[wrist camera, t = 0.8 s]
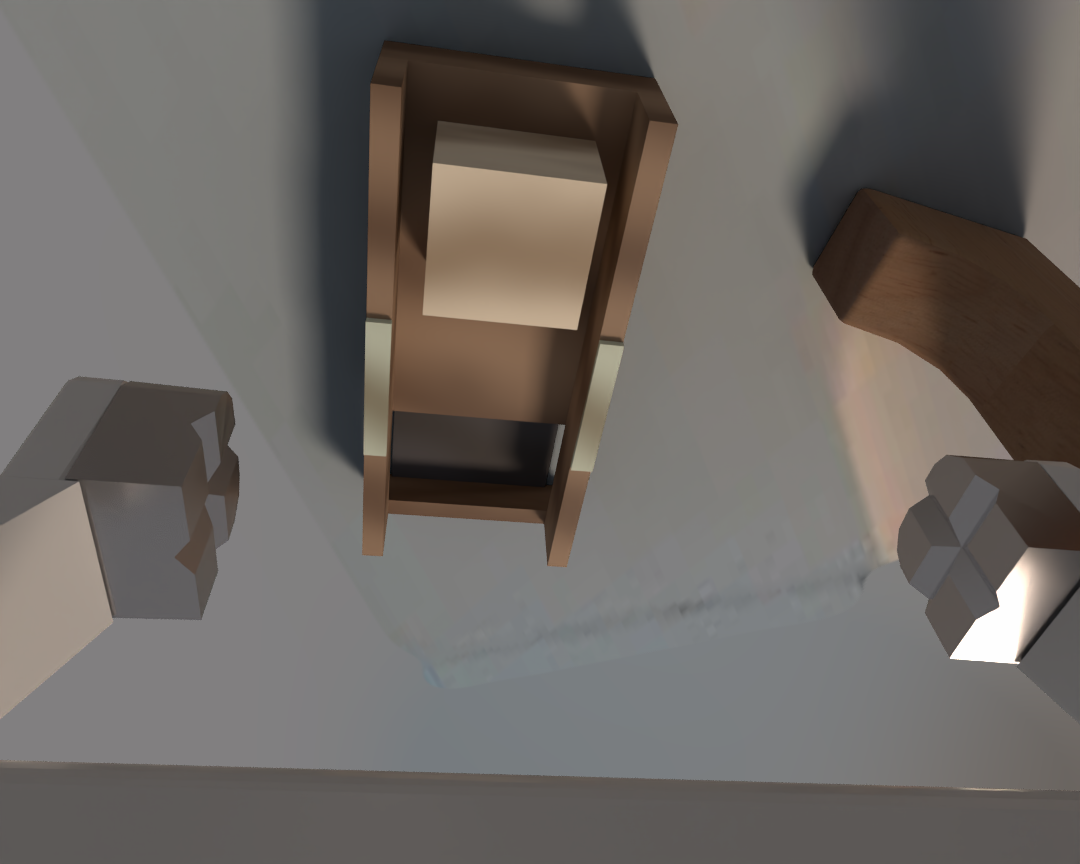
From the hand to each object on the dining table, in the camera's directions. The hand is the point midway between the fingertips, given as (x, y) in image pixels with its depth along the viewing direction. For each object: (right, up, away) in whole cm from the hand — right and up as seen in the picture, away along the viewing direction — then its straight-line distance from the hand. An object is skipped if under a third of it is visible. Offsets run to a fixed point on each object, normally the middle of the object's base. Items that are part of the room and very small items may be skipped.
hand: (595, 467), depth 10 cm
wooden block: (+17, +9, +28) cm, 34 cm away
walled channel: (-3, +6, +29) cm, 30 cm away
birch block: (-2, +9, +24) cm, 26 cm away
